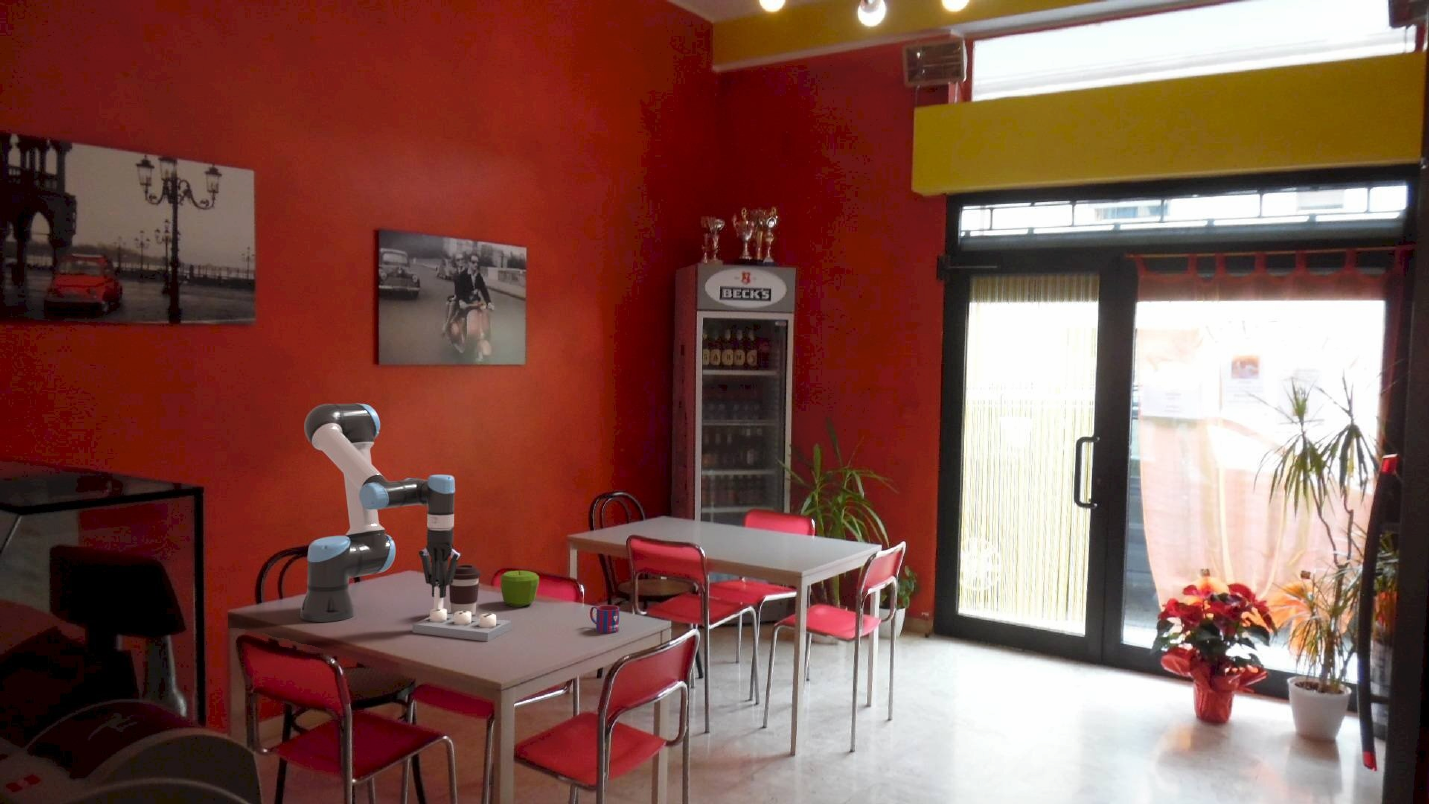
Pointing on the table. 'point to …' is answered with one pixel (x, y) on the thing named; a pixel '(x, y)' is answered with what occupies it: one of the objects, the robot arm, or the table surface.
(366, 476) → the robot arm
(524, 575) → the apple
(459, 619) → the button
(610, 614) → the cup
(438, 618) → the button
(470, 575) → the coffee cup
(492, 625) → the button
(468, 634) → the console
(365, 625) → the table surface
